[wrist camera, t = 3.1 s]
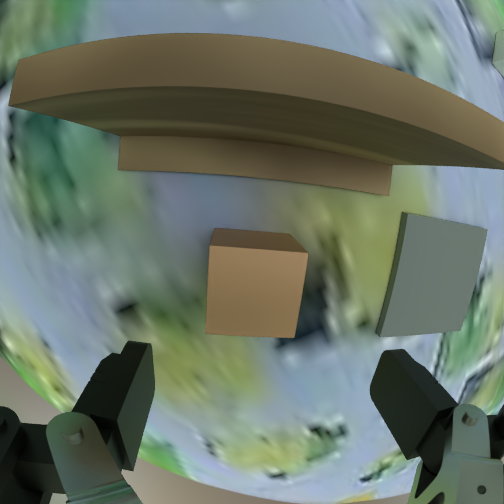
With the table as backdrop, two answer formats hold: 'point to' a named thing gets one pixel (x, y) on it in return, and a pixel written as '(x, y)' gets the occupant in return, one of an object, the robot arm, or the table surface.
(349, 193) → the table surface
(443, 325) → the slate pad
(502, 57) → the milk
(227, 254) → the letter cube
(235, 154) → the walnut screen
